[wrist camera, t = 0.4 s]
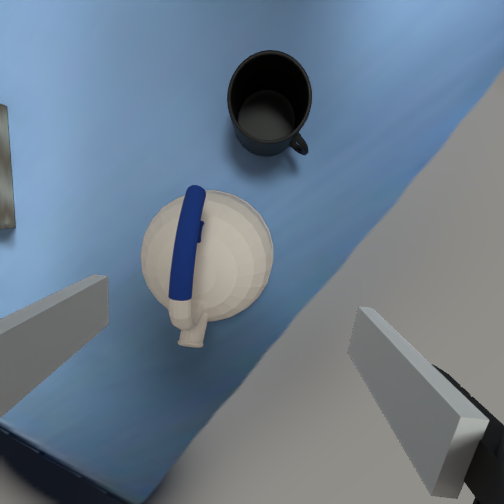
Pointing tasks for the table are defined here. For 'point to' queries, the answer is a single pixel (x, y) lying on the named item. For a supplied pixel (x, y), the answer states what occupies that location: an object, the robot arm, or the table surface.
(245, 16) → the table surface
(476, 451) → the robot arm
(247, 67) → the mug
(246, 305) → the kettle
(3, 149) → the box
